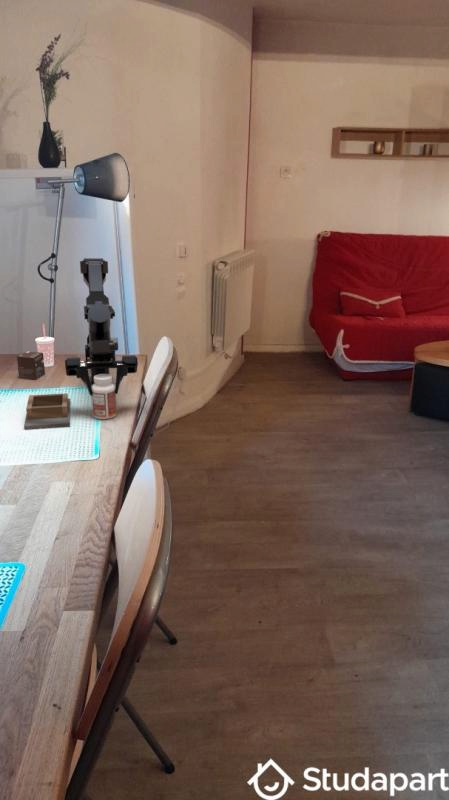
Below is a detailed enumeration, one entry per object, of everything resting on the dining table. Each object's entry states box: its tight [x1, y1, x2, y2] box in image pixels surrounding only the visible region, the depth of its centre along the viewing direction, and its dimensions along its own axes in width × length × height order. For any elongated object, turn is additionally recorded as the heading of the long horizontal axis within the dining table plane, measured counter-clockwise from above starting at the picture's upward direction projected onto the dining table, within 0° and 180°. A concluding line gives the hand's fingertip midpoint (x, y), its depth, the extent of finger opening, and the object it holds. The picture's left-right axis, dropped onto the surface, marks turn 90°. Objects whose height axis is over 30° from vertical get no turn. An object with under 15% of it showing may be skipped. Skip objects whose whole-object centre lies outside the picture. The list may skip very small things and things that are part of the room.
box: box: [16, 351, 46, 381], centre depth 178 cm, size 6×6×7 cm
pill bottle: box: [91, 373, 117, 420], centre depth 148 cm, size 6×6×11 cm
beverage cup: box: [35, 323, 55, 368], centre depth 188 cm, size 6×6×14 cm
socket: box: [23, 392, 71, 431], centre depth 149 cm, size 18×11×4 cm, turn 14°
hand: (103, 394), depth 147 cm, fingers closed on pill bottle, 6 cm apart
